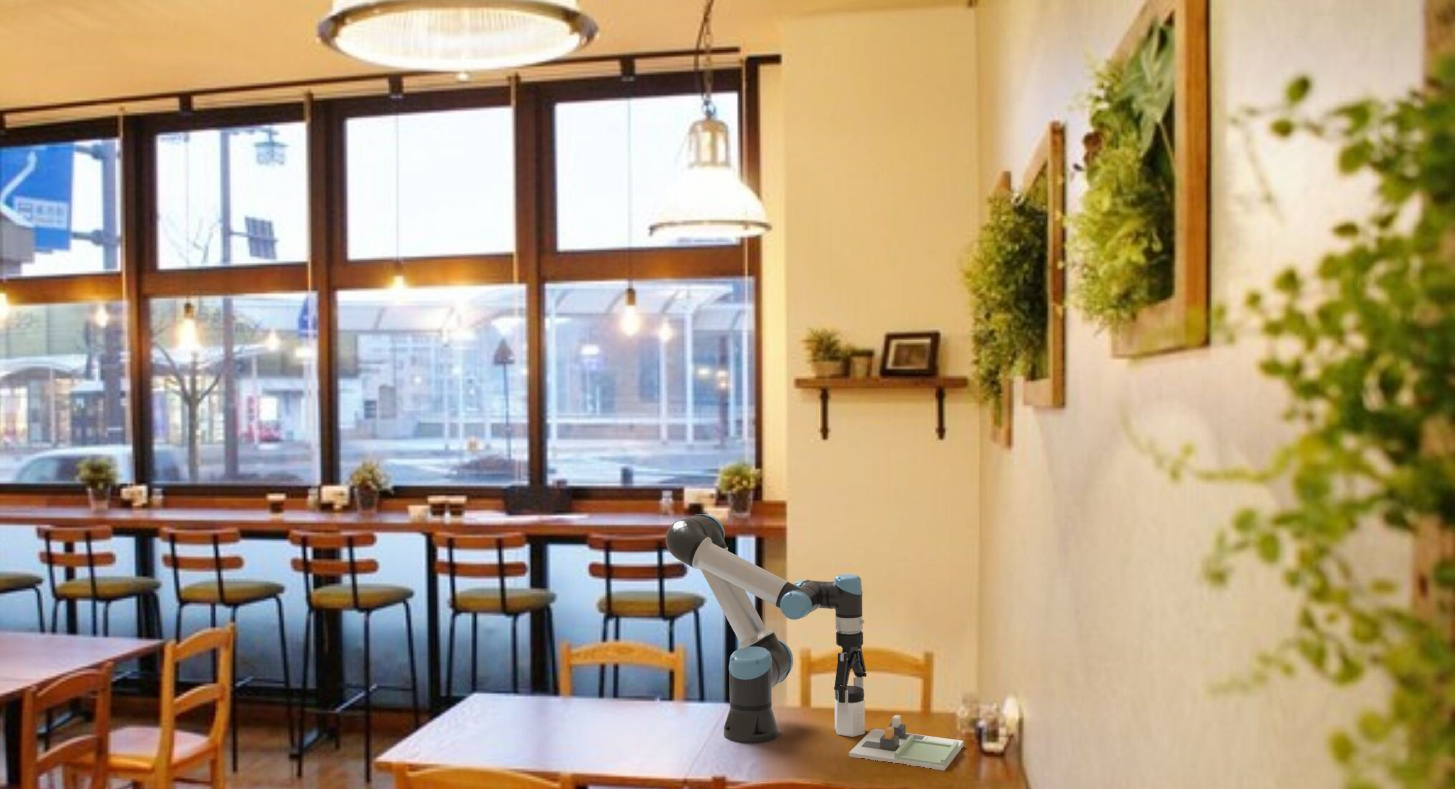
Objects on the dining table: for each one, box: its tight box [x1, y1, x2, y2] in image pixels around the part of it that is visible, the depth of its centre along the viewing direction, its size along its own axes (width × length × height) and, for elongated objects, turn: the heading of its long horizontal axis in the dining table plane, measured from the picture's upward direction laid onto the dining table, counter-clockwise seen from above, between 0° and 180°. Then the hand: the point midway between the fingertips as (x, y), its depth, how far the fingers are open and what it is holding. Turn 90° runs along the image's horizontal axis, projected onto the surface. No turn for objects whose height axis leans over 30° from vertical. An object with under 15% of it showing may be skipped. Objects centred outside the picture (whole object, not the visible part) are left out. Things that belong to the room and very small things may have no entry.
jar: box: [834, 685, 866, 738], centre depth 300 cm, size 9×8×12 cm
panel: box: [848, 728, 964, 772], centre depth 284 cm, size 25×21×3 cm
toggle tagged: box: [880, 725, 899, 750], centre depth 283 cm, size 4×4×5 cm
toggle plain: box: [888, 714, 907, 738], centre depth 293 cm, size 4×4×5 cm
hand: (851, 706), depth 300 cm, fingers open, 13 cm apart
